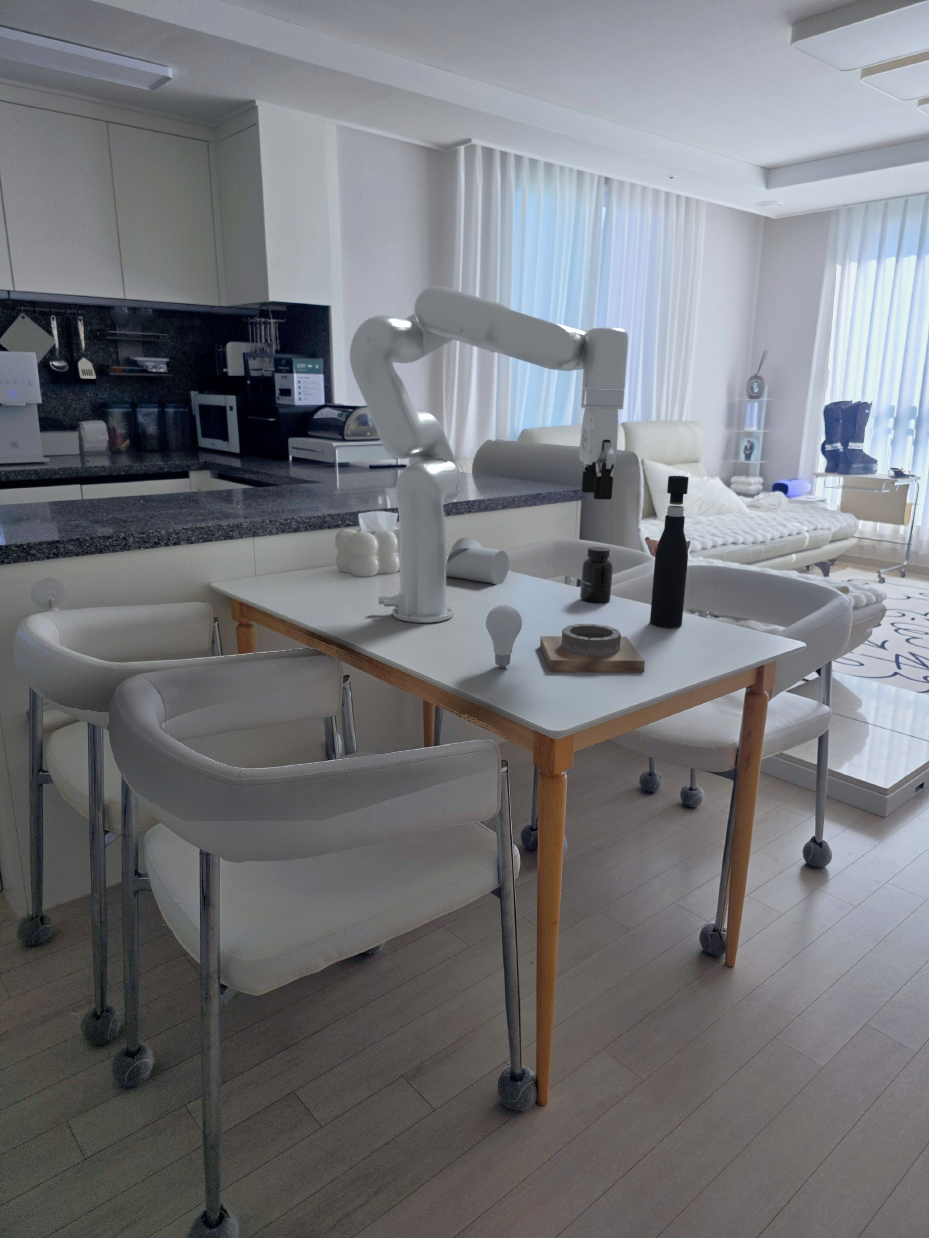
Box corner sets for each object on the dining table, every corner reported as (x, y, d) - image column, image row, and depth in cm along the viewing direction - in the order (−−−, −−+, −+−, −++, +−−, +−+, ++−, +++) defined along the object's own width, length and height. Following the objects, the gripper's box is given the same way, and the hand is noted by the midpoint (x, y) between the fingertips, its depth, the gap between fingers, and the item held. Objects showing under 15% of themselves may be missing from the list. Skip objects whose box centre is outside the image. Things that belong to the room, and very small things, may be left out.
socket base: (550, 671, 139) (551, 643, 138) (540, 646, 153) (541, 620, 152) (643, 671, 140) (646, 643, 139) (625, 646, 154) (627, 621, 152)
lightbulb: (517, 674, 138) (520, 611, 135) (481, 671, 139) (483, 608, 136) (522, 663, 143) (524, 602, 140) (488, 660, 145) (489, 599, 142)
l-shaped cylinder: (418, 572, 207) (486, 583, 196) (424, 530, 206) (492, 539, 195) (457, 575, 222) (521, 586, 211) (462, 536, 221) (527, 545, 210)
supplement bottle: (576, 602, 185) (579, 549, 182) (584, 595, 192) (587, 544, 188) (606, 605, 183) (610, 552, 180) (613, 598, 189) (616, 547, 186)
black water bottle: (675, 629, 165) (689, 479, 157) (645, 624, 168) (657, 476, 160) (685, 622, 170) (699, 476, 162) (655, 617, 174) (667, 474, 166)
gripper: (572, 399, 156) (566, 489, 161) (593, 401, 140) (586, 501, 144) (610, 400, 157) (604, 490, 162) (636, 402, 140) (628, 502, 145)
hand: (596, 495), depth 153 cm, fingers open, 9 cm apart
